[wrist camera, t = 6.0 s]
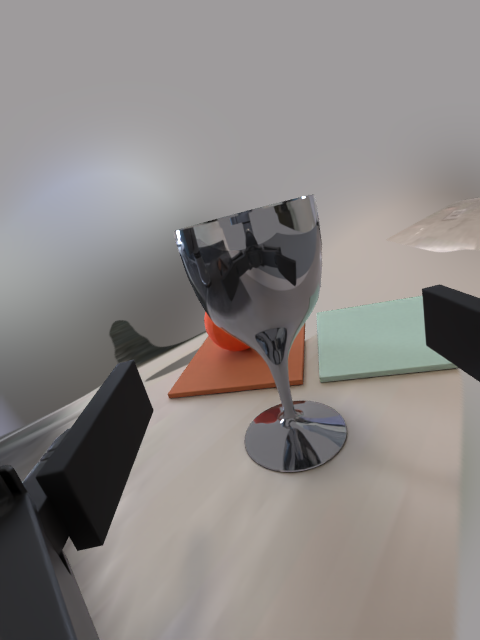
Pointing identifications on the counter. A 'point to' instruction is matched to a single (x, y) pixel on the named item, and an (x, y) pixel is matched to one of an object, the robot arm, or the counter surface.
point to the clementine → (222, 337)
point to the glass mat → (375, 341)
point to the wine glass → (267, 315)
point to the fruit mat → (234, 370)
